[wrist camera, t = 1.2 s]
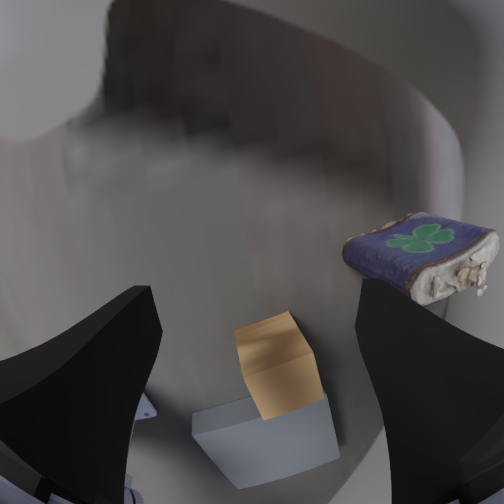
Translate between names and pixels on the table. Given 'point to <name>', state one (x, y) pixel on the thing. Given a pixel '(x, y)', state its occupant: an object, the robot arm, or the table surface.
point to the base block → (265, 440)
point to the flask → (425, 256)
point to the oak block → (278, 366)
